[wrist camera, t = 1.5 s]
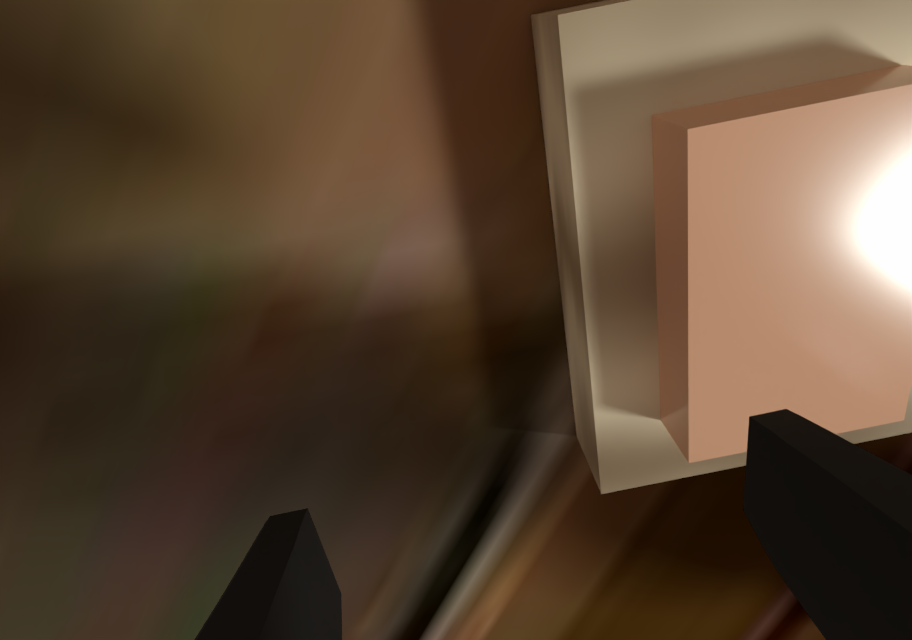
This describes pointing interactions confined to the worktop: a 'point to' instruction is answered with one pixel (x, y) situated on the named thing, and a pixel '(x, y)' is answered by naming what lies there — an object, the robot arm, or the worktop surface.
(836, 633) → the robot arm
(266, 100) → the worktop surface
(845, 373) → the tile
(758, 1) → the tan tray
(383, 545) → the worktop surface
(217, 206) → the worktop surface
